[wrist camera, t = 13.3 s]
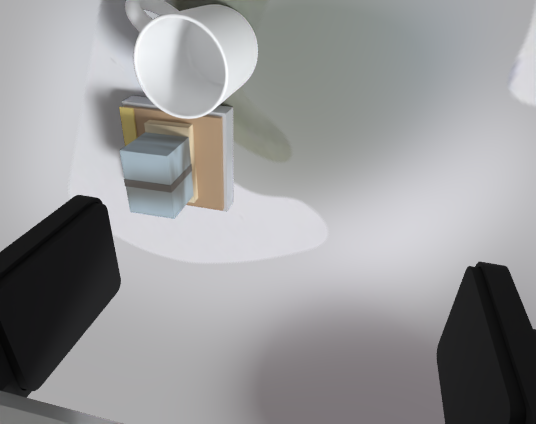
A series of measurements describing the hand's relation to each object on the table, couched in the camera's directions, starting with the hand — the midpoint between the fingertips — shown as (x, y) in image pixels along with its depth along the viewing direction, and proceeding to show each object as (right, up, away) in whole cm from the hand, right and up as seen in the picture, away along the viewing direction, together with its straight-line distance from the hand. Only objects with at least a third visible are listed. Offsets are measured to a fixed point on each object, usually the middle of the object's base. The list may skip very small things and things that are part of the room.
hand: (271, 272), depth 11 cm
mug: (-6, +20, +31) cm, 38 cm away
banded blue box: (-11, +7, +36) cm, 38 cm away
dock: (-10, +9, +39) cm, 41 cm away
